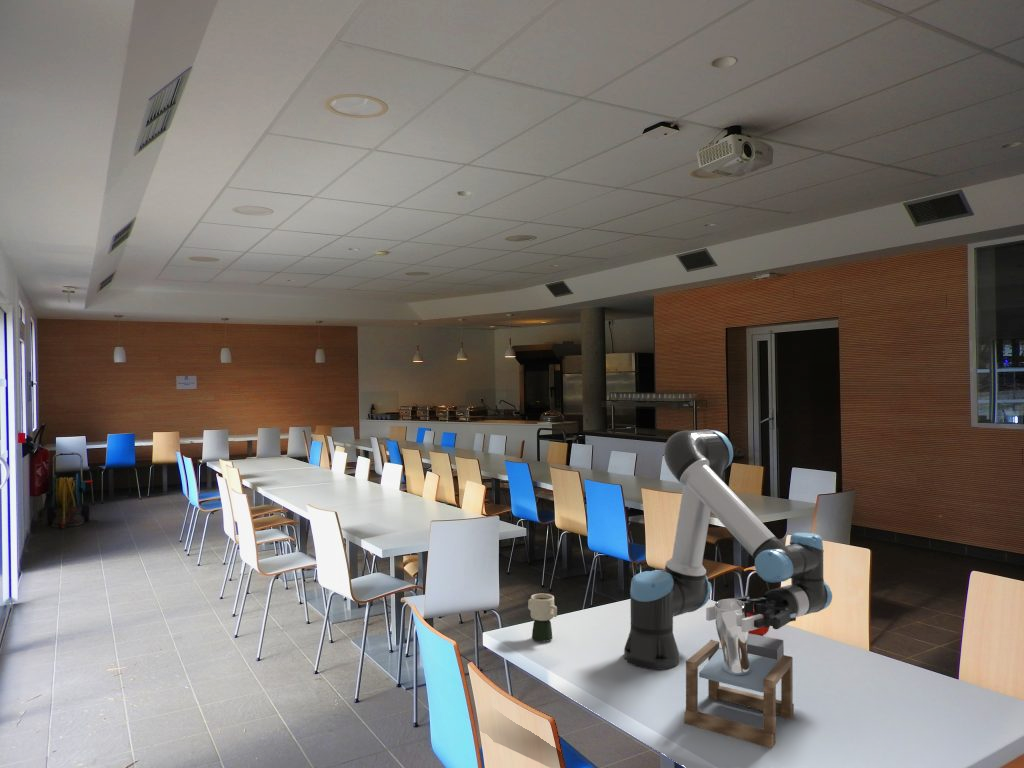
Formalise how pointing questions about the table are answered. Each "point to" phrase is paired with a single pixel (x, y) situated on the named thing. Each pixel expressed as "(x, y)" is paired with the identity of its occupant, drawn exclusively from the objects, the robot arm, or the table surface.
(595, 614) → the table surface
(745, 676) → the trapdoor
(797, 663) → the table surface
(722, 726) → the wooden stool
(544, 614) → the character mug
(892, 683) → the table surface
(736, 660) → the beer glass
